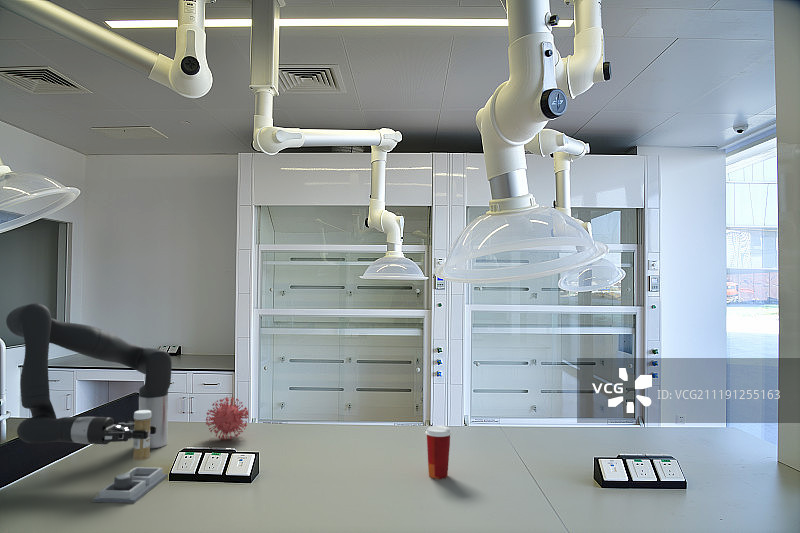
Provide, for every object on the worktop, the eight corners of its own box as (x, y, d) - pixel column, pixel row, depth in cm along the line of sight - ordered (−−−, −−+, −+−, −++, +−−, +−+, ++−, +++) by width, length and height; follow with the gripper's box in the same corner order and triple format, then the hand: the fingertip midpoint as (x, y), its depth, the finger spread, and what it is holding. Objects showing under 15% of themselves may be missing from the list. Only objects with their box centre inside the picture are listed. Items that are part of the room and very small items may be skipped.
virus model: (207, 434, 212) (208, 394, 212) (248, 432, 215) (249, 392, 216) (203, 446, 198) (204, 402, 198) (247, 443, 201) (248, 401, 201)
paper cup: (454, 473, 173) (454, 427, 173) (445, 481, 166) (446, 433, 166) (430, 469, 176) (430, 424, 176) (420, 477, 169) (421, 430, 169)
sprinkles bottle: (151, 459, 163) (152, 412, 163) (133, 461, 161) (135, 413, 161) (148, 455, 167) (149, 408, 167) (131, 457, 164) (132, 410, 165)
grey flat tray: (130, 475, 168) (130, 457, 168) (167, 476, 168) (167, 458, 168) (92, 501, 149) (93, 481, 149) (134, 502, 149) (134, 482, 149)
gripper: (78, 423, 157) (139, 425, 157) (107, 411, 172) (163, 413, 171) (77, 450, 157) (139, 453, 157) (106, 436, 172) (162, 438, 171)
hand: (151, 432), depth 164 cm, fingers closed on sprinkles bottle, 4 cm apart
